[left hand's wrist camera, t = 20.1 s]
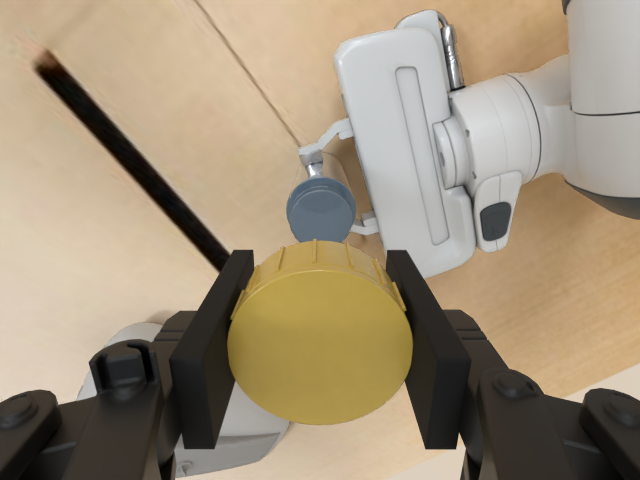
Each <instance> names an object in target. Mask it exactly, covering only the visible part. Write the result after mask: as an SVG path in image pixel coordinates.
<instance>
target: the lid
mask: <svg viewBox="0 0 640 480" xmlns="http://www.w3.org/2000/svg"><path fill="white" fill-rule="evenodd" d="M406 310H407V309H406V307H405V305H404V302H403V300H402V298H401V295H400V293H399V291H398V288H397V286H396V283H395V282H392V281H391V279H390V277H389V276H388V274H387V273H386V271H385V270H384V269H383V268H382V267H381V266H380V264H379V261H378V259H376V258H375V259H373V258H372V257H370V256H369V255H367V254H366V253H364V252H363V251H361V250H359V249H356V248H354V247H352V246H350V244H349V243H347V244H343V243H338V242H333V241H317V239H313V241H308V242H302V243H298V244H294V245H291V246H288V247H286V248H284V246H283V247H281V249H280V250H279V251H278V252H276V253H274V254H273V255H271V256H270V257H269V258H267V259H266V260H265V261H264V262H263V263H262V264H261V265H260V266H259V265H257V266H256V267H255V269H254V272H253V274H252V276H251V278H250V279H249V282H248V284H247V286H246V288H245V290H242V292H241V294H240V296H239V299H238V301H237V303H236V306H235V308H234V311H233V313H232V315H231V318H230V320H232V322H231V325H230V328H229V332H228V338H227V348H228V358H229V366H230V369H231V371H232V374H233V376H234V378H235V380H236V382H237V383H238V385H239V386H240V388H241V389H242V391H243V392H244V393H245V394H246V395H247V396H248V397H249V398H250V399H251V400H252V401H253V402H254V403H256V404H257V405H258V406H260V407H261V408H263V409H264V410H266V411H267V412H269V413H271V414H273V415H275V416H277V417H280V418H283V419H285V420H289V421H292V422H296V423H302V424H308V425H332V424H339V423H344V422H348V421H352V420H355V419H358V418H360V417H363V416H365V415H367V414H369V413H371V412H373V411H375V410H376V409H378V408H379V407H381V406H382V405H383V404H385V403H386V402H387V401H388V400H389V399H390V398H391V397H392V396H393V395H394V394H395V393H396V392H397V391H398V389H399V388H400V387H401V385H402V384H403V382H404V380H405V378H406V377H407V375H408V372H409V369H410V366H411V360H412V351H413V336H412V332H411V328H410V325H409V322H408V319H407V317H406V315H405V312H404V311H406Z"/></svg>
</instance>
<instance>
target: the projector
mask: <svg viewBox="0 0 640 480" xmlns="http://www.w3.org/2000/svg"><path fill="white" fill-rule="evenodd" d="M162 327H163V325H160V324H156V323H148V322H143V323H136V324H132V325H130V326H128V327H126V328H124V329H122V330H121V331H120V332H118V333H117V334H116V335H115V336H114V337H113V338H112V339H111V340H110V341H109V342H108V343H107V344H106V345H105V346H104V348H105V347H107V346H110V345H112V344H114V343H116V342H120V341H125V340H129V339H143V340H147V341H150V342H152V341H154V338H155V336H156V335H157V334H158V332H160V329H161V328H162ZM104 348H103V349H104ZM96 394H97V391H96V388H95V384H94V380H93V377H92V373H91V369H90V370H89V372H88V374H87V376H86V378H85V381H84V384H83V385H82V387H81V389H80V391H79V394H78V396H77V399H76V401H78V400H83V399H87V398H90V397H94V396H96ZM289 423H290V421H289V420H285V419H283V418H280V417H277V416H275V415H273V414H271V413H269V412H267V411H266V410H264V409H263V408H261V407H260V406H258V405H257V404H256V403H254V402H253V401H252V400H251V399H250V398H249V397H248V396H247V395H246V394H245V393H244V392H243V391H242V389H241V388H240V386H239V385H238V383H237V382H236V381H235V384H234V388H233V391H232V394H231V398H230V401H229V404H228V407H227V411H226V414H225V417H224V420H223V424H222V427H221V430H220V433H219V437H218V440H217V443H216V446H215V449H184V445H183V439H182V434H181V435H180V438H179V440H178V442H177V445H176V447H175V449H174V451H175V456H176V464H177V466H176V475H175V478H179V477H186V476H193V475H199V474H205V473H210V472H215V471H220V470H225V469H230V468H234V467H239V466H243V465H247V464H251V463H254V462H257V461H260V460H261V459H262V458H263V457H265V456H266V455H268V454H269V453H270V452H271V451H272V450H273V449H274V447H275V446H276V445H277V444H278V443H279V441H280V440H281V438H282V437H283V436H284V434H285V433H286V431H287V429H288V426H289Z"/></svg>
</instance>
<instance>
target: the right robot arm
mask: <svg viewBox="0 0 640 480" xmlns="http://www.w3.org/2000/svg"><path fill="white" fill-rule="evenodd" d="M562 6H563V12H564V14H565V15H567V32H568V49H569V53H567V54H564V55H561V56H559V57H556V58H554V59H552V60H550V61H548V62H547V63H545V64H544V65H542V66H541V67H539V68H537V69H535V70H532V71H529V72H521V73H507V74H502V75H500V76H497V77H493V78H490V79H487V80H484V81H481V82H478V83H475V84H472V85H468V86H464V79H463V74H462V68H461V63H460V62H459V61H460V60H459V58H458V57H459V56H458V54H457V53H458V52H457V46H456V43H457V37H456V32H455V29H454V26H453V24H451V25H449V24H448V22H447V20H446V18H445V17H444V16H443V15H442V14H441V13H440V12H438V11H436V10H431V9H428V10H423V11H420V12H417V13H414V14H411V15H408V16H406V17H404V18H403V19H401V20H400V21H399V22H398V23H397V24H396V26H395V27H394V29H391V30H385V31H380V32H375V33H370V34H366V35H362V36H359V37H355V38H352V39H349V40H346V41H344V42H342V43H341V44H340V45H339V46H338V48H337V49H336V51H335V53H334V56H333V66H334V70H335V73H336V77H337V81H338V85H339V88H340V92H341V96H342V99H343V103H344V107H345V110H346V114H347V118H344V119H341V120H338V121H335V122H333V124H332V125H331V126H330V127H329V128H328V129H327V130H326V131H325V132H324V134H323V135H322V136H321V137H320V138H319V139H318V142H314V143H311V144H308V145H305V146H302V147H300V148H298V149H297V150H298V154H299V157H300V160H301V163H302V165H303V167H305V166H309V165H311V163H312V162H313V163H318V162H321V161H323V156H322V152H321V151H322V150H323V148H324V147H325V146H326V145H327V144H328V143H329V142H330V141H331V140H332V139H333V138H334V136H335V135H336V134H337V133H338V137H339V138H340V139H341V140H343V139H346V138H349V137H353V140H354V144H355V148H356V151H357V155H358V159H359V162H360V166H361V170H362V174H363V177H364V181H365V185H366V188H367V192H368V196H369V199H370V203H371V207H372V211H368V212H365V213H362V214H361V218H362V220H359V219H355V221H354V223H353V226H352V227H351V230H350V232H354V233H359V234H363V235H370V234H373V233H377V232H378V233H379V237H380V240H381V244H382V248H383V251H384V255H385V259H386V260H387V250H407V252H408V253H409V255H410V257H411V258H412V260H413V262H414V263H415V265H416V267H417V268H418V270H419V272H420V273H421V275H422V277H423V278H424V279H425V278H429V277H432V276H435V275H438V274H441V273H443V272H446V271H449V270H451V269H454V268H456V267H458V266H460V265H462V264H464V263H465V262H466V261H468V260H469V259H470V258H471V257H472V255H473V253H474V251H475V249H476V247H477V248H479V249H480V250H482V251H484V252H487V253H490V252H495V251H498V250H501V249H503V248H504V247H505V246H506V244H507V241H508V238H509V233H510V227H511V222H512V218H513V213H514V209H515V205H516V201H517V198H518V194H519V191H520V188H521V185H523V184H526V183H528V182H530V181H532V180H534V179H536V178H538V177H540V176H542V175H545V174H549V173H560V174H562V175H563V176H564V177H565V182H566V183H567V184H568V185H570V186H571V187H572V188H574V189H575V190H577V191H578V192H580V193H581V194H583V195H585V196H586V197H588V198H590V199H591V200H593V201H594V202H596V203H598V204H599V205H601V206H602V207H604V208H606V209H607V210H609V211H611V212H613V213H616V214H618V215H621V216H625V217H628V218H632V219H638V220H640V0H562ZM439 21H440V22H441V24H442V26H443V28H441V29H440V26H439ZM447 91H450V92H447Z"/></svg>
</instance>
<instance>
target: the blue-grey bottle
mask: <svg viewBox="0 0 640 480" xmlns="http://www.w3.org/2000/svg"><path fill="white" fill-rule="evenodd" d="M322 156H323V161H321V162H318V163H313V162H312V163H311V165H309V166H305V167H303V165H302V163H301V165H300V167H299V170H298V173H297V176H296V179H295V182H294V184H293V187H292V190H291V193H290V196H289V199H288V202H287V208H286V212H287V219H288V222H289V224H290V228H291V231H292V232H293V234H294V236H295V238H296V239H297V240H298V241H299V242H300V243H302V242H308V241H313V239H317V241H333V242H338V243H341V242H342V241H343V240H344V239H345V238H346V237H347V235H348V234H349V232H350V230H351V227H352V226H353V223H354V221H355V218H356V203H355V200H354V197H353V194H352V191H351V188H350V186H349V183H348V180H347V177H346V174H345V172H344V169H343V166H342V164H341V163H340V161H339V160H338V159H337V158H336V157H334V156H333V155H331V154H328V153H323V152H322Z"/></svg>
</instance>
